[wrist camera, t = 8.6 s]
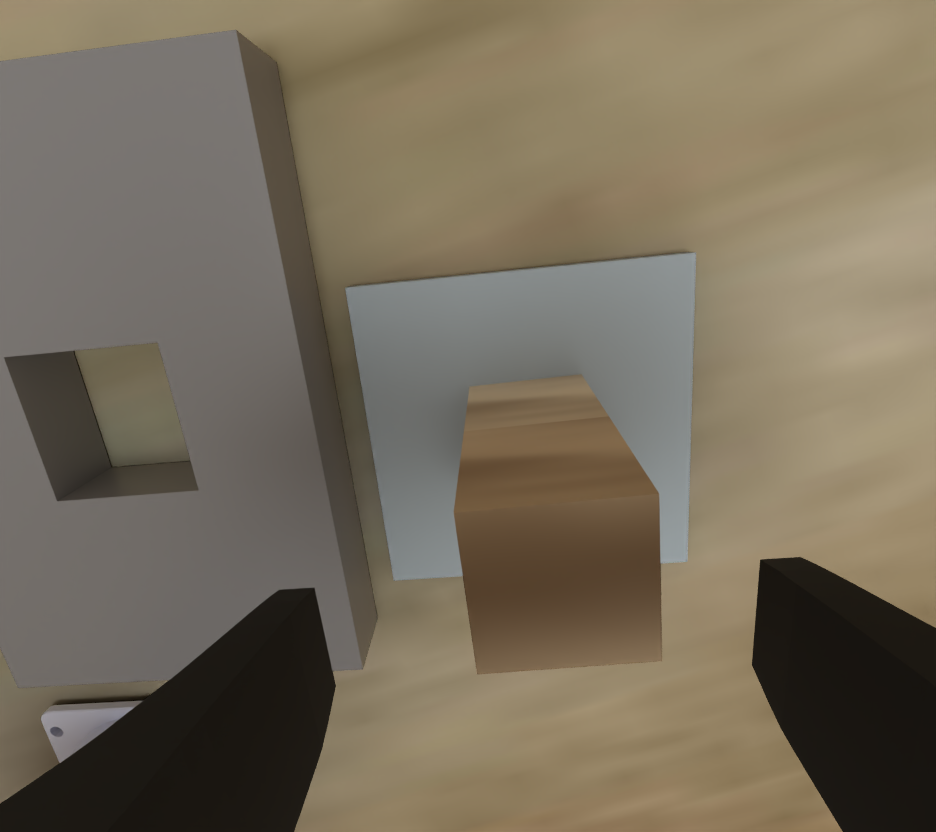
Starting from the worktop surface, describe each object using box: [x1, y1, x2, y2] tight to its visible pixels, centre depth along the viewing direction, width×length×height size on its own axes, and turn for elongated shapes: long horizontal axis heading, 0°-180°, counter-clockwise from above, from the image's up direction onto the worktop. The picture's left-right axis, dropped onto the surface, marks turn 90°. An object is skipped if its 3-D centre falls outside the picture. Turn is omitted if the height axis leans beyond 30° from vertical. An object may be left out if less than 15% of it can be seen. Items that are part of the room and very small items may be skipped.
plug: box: [454, 374, 662, 674], centre depth 13 cm, size 3×3×8 cm
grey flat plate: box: [0, 30, 377, 688], centre depth 17 cm, size 18×12×2 cm, turn 6°
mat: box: [345, 252, 696, 581], centre depth 18 cm, size 10×10×1 cm
